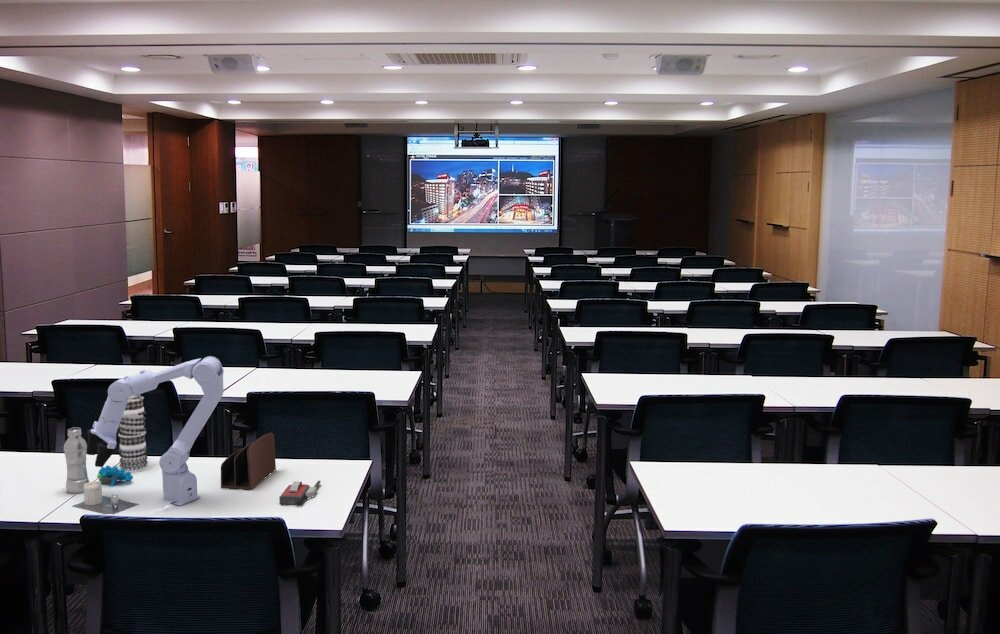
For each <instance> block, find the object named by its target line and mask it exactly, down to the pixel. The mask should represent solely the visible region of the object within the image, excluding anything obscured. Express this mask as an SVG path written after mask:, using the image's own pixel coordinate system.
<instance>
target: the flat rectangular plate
mask: <svg viewBox="0 0 1000 634" xmlns="http://www.w3.org/2000/svg"><path fill="white" fill-rule="evenodd" d="M118 496H119V495H118V494H112V495H110V497H109V496H104V495H102V503H99V504H97V505H86V504H85V500H84V501H82V502H79V503H76V504H74V505H71V507H72V508H78V509H81V510H84V511H85V510H86V511H89V512H95V513H98V514H103V515H106V514H113V515H115V514H118V513H121V512H123V511H125V510H129V509H131V508H135V507H136V506H139V505H140V503H135V502H132V501H127V500H122V499H119V498H118Z"/></svg>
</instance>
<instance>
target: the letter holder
mask: <svg viewBox="0 0 1000 634" xmlns="http://www.w3.org/2000/svg"><path fill="white" fill-rule="evenodd" d="M275 444H276V443H275V434H274V433H273V432H268V433H265V434H263V435H261V436H260V437H258V438H257V439H256V440H254V441H253V442H251V443H249V444H247V445H246V446H244V447H242V448H240V449H239V450H236V451H235V452H233V453H231V455H229V456H228V457H227V458H225V460H224V461H222V463H221V465H220V489H221V488H229V489H228V490H237V489H243V490H242V491H252V490H253V489H254V488H255V487H257V486H258V485H259V484H260V483H262V482H263V481H264V480H265V479H264V478H265V477H267V476H268V475H269V474H270V473H272V472H273V471H274V470H276V471H277V465H276V464H277V463H276V448H275V447H276V445H275ZM273 473H274V472H273ZM273 473H272V474H273ZM268 477H269V476H268ZM268 477H267V478H268ZM263 479H264V480H263ZM262 480H263V481H262ZM261 481H262V482H261ZM258 483H259V484H258ZM257 484H258V485H257ZM256 485H257V486H256Z"/></svg>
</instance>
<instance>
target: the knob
mask: <svg viewBox="0 0 1000 634" xmlns="http://www.w3.org/2000/svg"><path fill="white" fill-rule="evenodd" d="M83 496H84V501H85V504H86V505H97V504H99V503H102V496H103V488H102V484H101V482H100V481H89V483H86V484H84V492H83Z"/></svg>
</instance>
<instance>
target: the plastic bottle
mask: <svg viewBox="0 0 1000 634" xmlns="http://www.w3.org/2000/svg"><path fill="white" fill-rule="evenodd" d="M87 449H88V443H87V441H86V440H85V439H84V438H83V437H82V428H81V427H71V428H68V429H67V439H66V440H65V442H64V445H63V452H64V457H65V461H66V462H65V463H66V481H65V482H66V483H65V489H66V493H68V494H71V495H75V494H84V484H86V483H89V482H90V479H89V476H88V475H89V474H88V469H87Z"/></svg>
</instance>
